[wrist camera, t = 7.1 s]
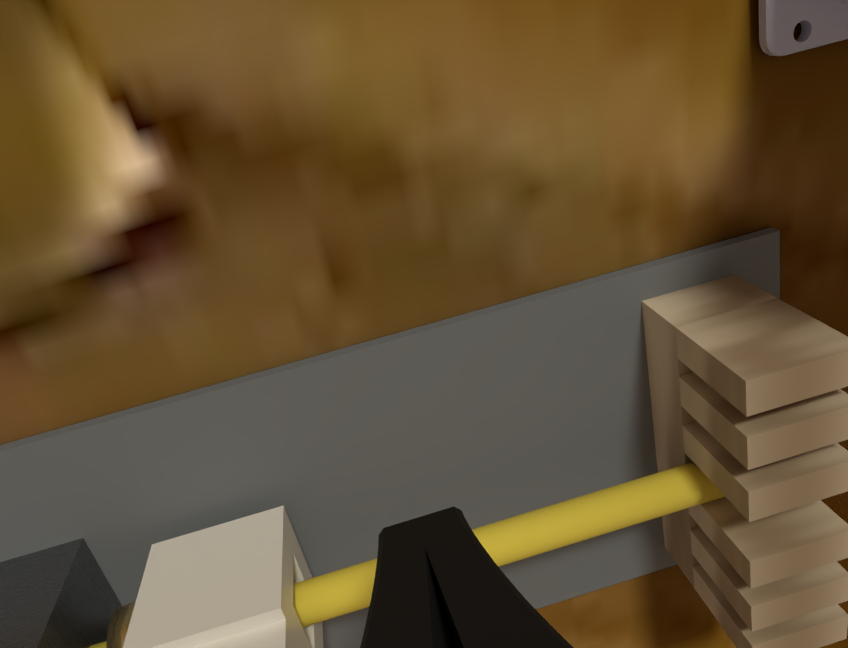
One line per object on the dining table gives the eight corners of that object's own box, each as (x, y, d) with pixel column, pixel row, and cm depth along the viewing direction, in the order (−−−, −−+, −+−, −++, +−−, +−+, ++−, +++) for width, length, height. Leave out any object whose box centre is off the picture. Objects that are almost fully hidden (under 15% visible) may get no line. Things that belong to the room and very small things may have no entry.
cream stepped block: (283, 505, 20) (279, 662, 15) (321, 599, 22) (329, 770, 17) (151, 544, 20) (102, 717, 15) (200, 637, 22) (171, 821, 17)
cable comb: (734, 274, 21) (864, 345, 16) (741, 523, 25) (846, 638, 20) (641, 301, 20) (745, 381, 16) (665, 547, 25) (752, 669, 20)
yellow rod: (731, 441, 20) (755, 464, 19) (732, 472, 21) (755, 496, 20) (21, 656, 19) (4, 694, 18) (41, 684, 20) (25, 723, 18)
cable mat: (771, 227, 21) (779, 230, 20) (772, 525, 26) (779, 532, 25) (-128, 481, 19) (-137, 490, 18) (63, 748, 24) (60, 758, 23)
